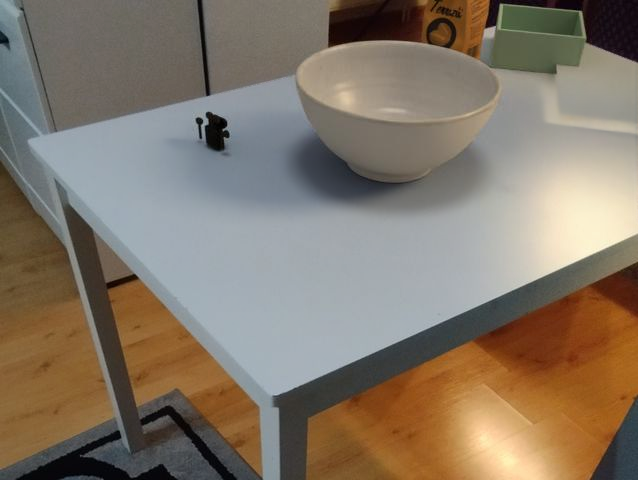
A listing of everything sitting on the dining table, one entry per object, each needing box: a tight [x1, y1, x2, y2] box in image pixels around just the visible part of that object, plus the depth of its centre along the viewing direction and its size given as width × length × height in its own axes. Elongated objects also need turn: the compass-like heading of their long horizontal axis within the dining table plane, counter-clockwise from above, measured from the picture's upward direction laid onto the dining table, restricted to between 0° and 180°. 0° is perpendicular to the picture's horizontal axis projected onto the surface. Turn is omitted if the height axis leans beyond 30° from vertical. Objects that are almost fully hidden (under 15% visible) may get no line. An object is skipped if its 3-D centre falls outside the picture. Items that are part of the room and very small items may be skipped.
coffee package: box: [420, 0, 491, 61], centre depth 114 cm, size 10×12×22 cm
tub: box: [489, 3, 587, 75], centre depth 126 cm, size 15×15×6 cm
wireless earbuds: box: [195, 111, 231, 151], centre depth 97 cm, size 7×2×5 cm, turn 48°
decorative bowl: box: [294, 39, 503, 184], centre depth 93 cm, size 27×27×12 cm
